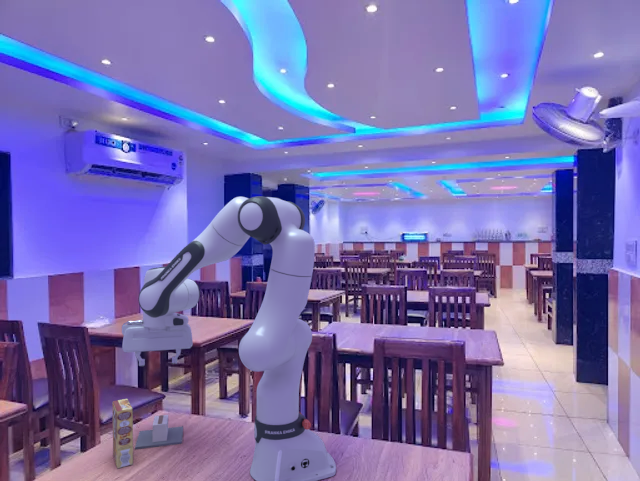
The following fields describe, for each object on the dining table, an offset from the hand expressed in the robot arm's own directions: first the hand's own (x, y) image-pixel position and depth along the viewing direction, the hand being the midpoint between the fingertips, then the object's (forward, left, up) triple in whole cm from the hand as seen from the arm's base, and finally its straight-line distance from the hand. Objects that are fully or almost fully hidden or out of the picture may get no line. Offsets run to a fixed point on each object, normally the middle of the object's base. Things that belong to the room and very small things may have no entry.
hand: (158, 364), depth 132 cm
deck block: (-1, +1, -22) cm, 22 cm away
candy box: (+8, +12, -22) cm, 27 cm away
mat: (-1, +1, -22) cm, 22 cm away
